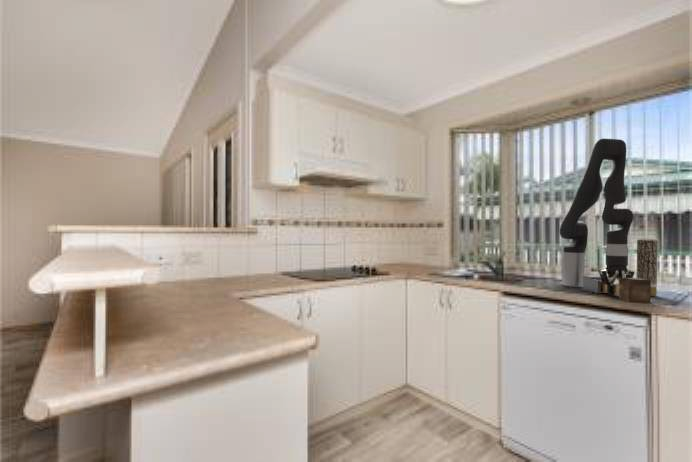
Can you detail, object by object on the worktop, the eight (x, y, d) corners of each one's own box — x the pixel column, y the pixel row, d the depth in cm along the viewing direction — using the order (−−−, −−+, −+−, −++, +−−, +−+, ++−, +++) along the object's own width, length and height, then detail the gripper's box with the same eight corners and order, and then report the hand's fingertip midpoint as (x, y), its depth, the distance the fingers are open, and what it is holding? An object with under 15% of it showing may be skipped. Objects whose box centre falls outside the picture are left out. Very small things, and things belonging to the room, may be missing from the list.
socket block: (619, 299, 139) (619, 277, 139) (639, 299, 139) (639, 278, 139) (629, 302, 134) (629, 279, 134) (650, 302, 134) (650, 279, 134)
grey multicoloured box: (582, 289, 161) (582, 275, 161) (598, 290, 161) (598, 275, 161) (597, 293, 151) (597, 278, 151) (614, 294, 151) (614, 278, 151)
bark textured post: (660, 297, 146) (661, 239, 146) (642, 296, 148) (643, 239, 148) (649, 294, 153) (650, 239, 153) (632, 293, 154) (633, 238, 154)
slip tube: (592, 289, 157) (592, 279, 157) (600, 289, 157) (601, 279, 157) (625, 297, 138) (625, 286, 138) (635, 297, 138) (635, 286, 138)
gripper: (626, 254, 149) (625, 292, 149) (593, 253, 150) (593, 292, 150) (640, 255, 142) (640, 296, 142) (606, 255, 142) (606, 295, 142)
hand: (616, 294), depth 146 cm, fingers closed on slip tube, 4 cm apart
